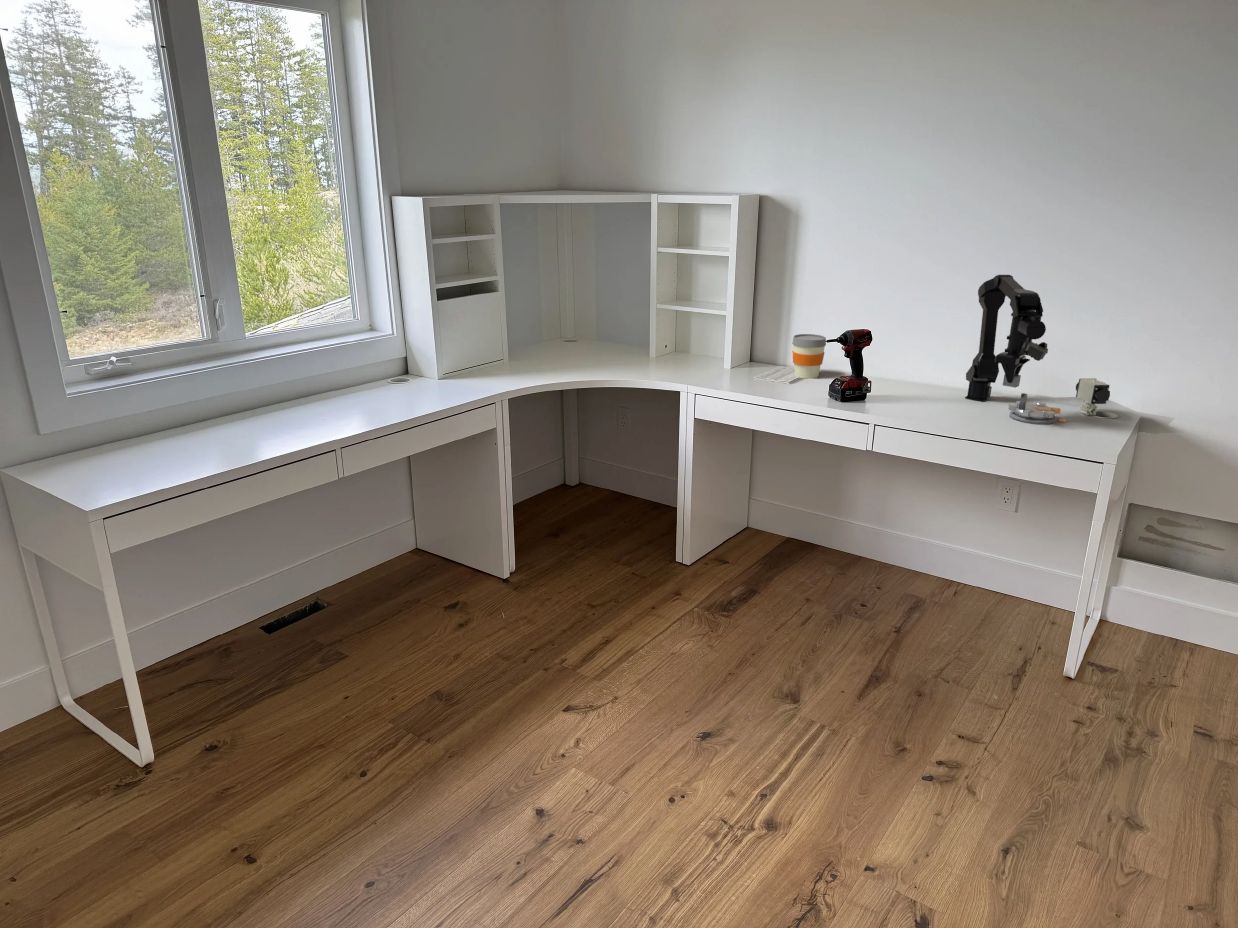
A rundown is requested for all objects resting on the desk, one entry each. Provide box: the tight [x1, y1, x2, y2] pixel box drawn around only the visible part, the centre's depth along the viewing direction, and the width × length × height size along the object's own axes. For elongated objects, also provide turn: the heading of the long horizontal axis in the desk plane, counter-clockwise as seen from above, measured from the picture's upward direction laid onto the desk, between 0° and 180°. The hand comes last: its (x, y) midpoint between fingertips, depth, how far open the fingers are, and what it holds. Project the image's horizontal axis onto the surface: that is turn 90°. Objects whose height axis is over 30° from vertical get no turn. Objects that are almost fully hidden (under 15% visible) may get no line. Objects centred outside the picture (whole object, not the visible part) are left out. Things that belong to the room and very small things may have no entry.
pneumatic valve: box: [1075, 377, 1111, 416], centre depth 270 cm, size 6×12×12 cm, turn 4°
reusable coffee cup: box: [791, 333, 827, 379], centre depth 317 cm, size 13×13×15 cm
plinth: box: [1009, 410, 1067, 425], centre depth 266 cm, size 16×14×1 cm
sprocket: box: [1007, 392, 1062, 420], centre depth 265 cm, size 14×15×7 cm
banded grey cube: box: [1002, 374, 1022, 388], centre depth 263 cm, size 4×3×4 cm
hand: (1011, 381), depth 263 cm, fingers closed on banded grey cube, 3 cm apart
